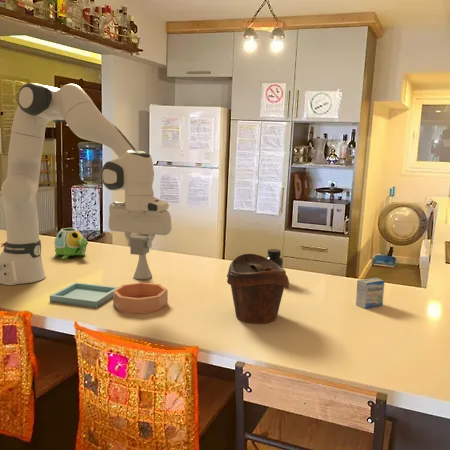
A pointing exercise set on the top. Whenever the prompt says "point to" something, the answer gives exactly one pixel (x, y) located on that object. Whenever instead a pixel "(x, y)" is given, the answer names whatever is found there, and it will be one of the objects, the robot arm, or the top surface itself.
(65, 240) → the turtle holder
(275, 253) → the supplement bottle
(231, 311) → the top surface
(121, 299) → the terracotta bowl
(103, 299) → the parts tray
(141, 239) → the grey square block
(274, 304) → the brown lidded bucket
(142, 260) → the flask
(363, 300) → the medicine box
